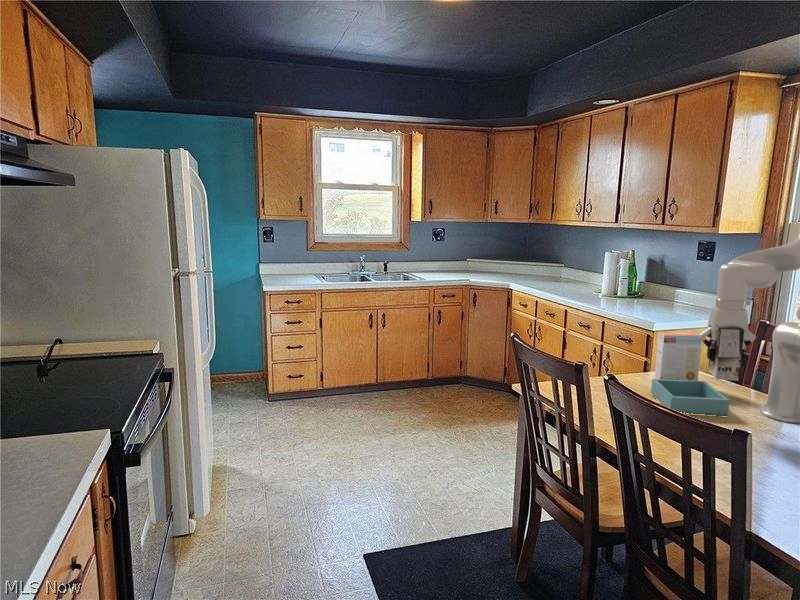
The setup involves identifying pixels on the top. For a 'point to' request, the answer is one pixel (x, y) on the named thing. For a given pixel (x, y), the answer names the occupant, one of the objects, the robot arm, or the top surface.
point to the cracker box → (678, 356)
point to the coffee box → (727, 354)
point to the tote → (690, 397)
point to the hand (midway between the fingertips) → (724, 360)
